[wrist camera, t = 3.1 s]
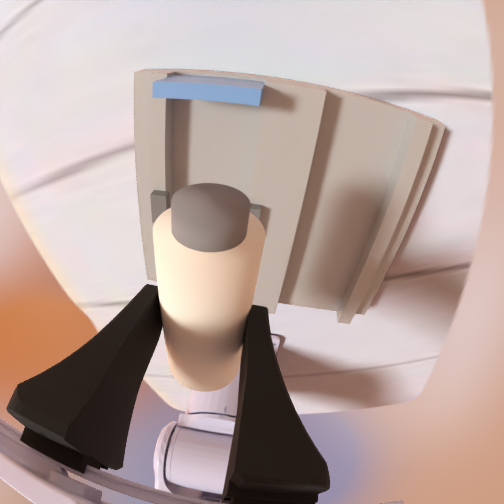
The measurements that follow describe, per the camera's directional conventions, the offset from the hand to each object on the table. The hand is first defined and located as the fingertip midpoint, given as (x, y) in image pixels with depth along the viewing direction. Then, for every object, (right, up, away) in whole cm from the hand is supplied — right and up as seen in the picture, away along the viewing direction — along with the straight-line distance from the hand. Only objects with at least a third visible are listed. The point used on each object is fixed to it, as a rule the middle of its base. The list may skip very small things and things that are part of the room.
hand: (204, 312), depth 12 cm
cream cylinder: (0, +1, +1) cm, 2 cm away
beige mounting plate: (+3, +6, +8) cm, 10 cm away
